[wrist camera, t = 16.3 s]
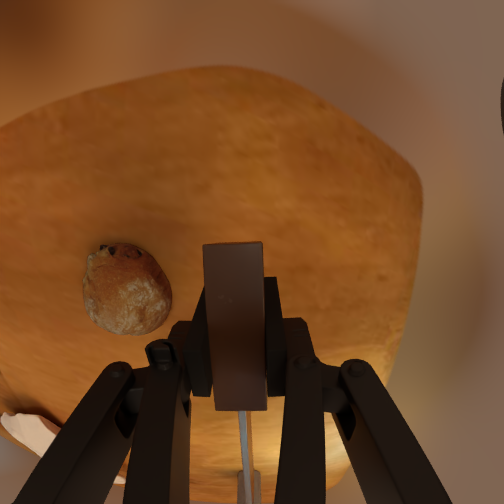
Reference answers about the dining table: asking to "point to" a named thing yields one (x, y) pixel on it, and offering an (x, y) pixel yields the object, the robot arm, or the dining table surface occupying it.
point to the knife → (237, 336)
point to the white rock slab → (35, 433)
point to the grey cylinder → (241, 488)
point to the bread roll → (126, 290)
